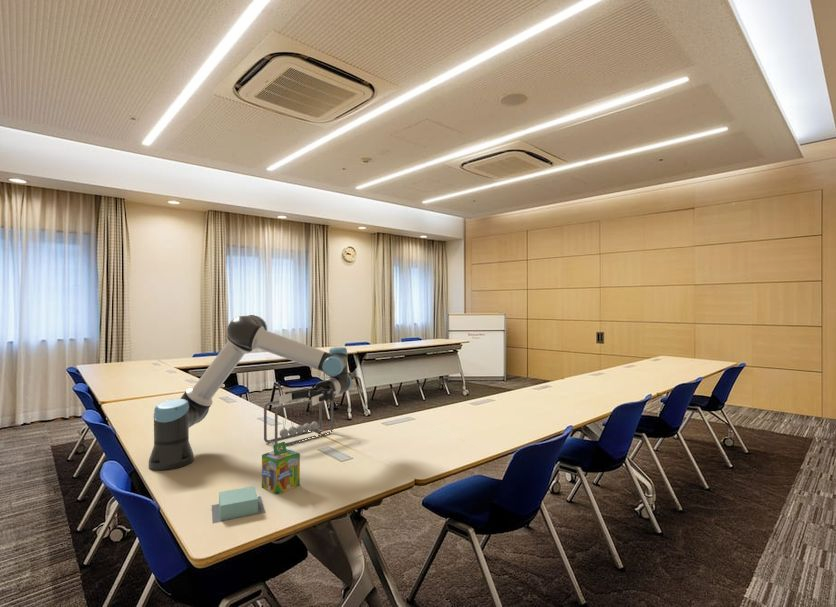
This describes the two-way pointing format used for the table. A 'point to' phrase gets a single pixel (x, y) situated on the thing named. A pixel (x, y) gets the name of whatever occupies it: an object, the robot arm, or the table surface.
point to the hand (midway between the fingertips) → (296, 400)
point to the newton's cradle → (293, 430)
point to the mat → (217, 517)
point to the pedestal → (238, 502)
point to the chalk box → (280, 469)
